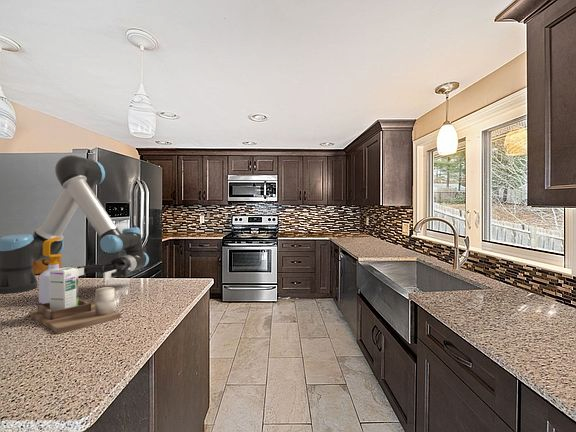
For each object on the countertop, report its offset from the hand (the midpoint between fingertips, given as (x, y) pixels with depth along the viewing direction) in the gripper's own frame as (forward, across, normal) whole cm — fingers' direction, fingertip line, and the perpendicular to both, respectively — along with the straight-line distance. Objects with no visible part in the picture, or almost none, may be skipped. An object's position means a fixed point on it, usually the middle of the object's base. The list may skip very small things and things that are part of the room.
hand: (87, 275), depth 118 cm
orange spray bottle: (-47, +60, -12) cm, 78 cm away
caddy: (+10, -4, -12) cm, 16 cm away
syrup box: (+10, 0, -10) cm, 14 cm away
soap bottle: (-4, +17, -12) cm, 21 cm away
